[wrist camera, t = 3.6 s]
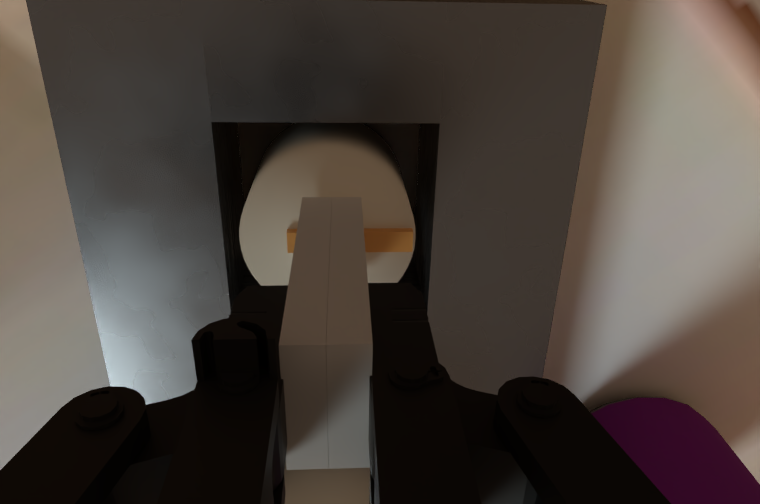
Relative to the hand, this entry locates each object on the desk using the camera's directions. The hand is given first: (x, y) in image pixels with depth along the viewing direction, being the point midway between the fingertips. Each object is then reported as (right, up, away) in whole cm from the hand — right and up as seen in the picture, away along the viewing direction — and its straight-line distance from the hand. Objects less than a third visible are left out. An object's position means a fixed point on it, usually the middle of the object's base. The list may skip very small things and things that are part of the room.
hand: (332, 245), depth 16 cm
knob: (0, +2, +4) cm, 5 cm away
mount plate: (-1, -2, +7) cm, 7 cm away
